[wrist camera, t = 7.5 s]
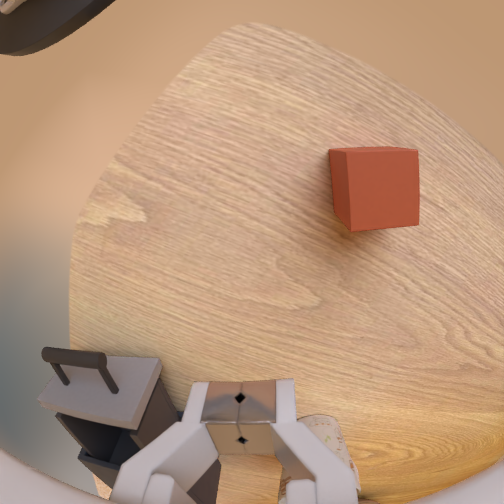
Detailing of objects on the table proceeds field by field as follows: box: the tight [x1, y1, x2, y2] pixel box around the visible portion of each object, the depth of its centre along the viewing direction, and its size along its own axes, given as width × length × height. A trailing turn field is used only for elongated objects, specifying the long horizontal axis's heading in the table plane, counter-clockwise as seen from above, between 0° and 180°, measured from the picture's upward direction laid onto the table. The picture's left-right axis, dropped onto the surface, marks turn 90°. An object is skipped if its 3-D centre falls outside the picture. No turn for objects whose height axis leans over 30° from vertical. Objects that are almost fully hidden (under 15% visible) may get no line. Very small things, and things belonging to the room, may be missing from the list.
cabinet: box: [78, 412, 221, 504], centre depth 28 cm, size 15×13×10 cm
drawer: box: [37, 347, 181, 466], centre depth 23 cm, size 18×11×8 cm, turn 8°
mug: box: [278, 415, 361, 504], centre depth 25 cm, size 8×13×10 cm, turn 51°
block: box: [329, 147, 420, 232], centre depth 17 cm, size 4×4×4 cm
